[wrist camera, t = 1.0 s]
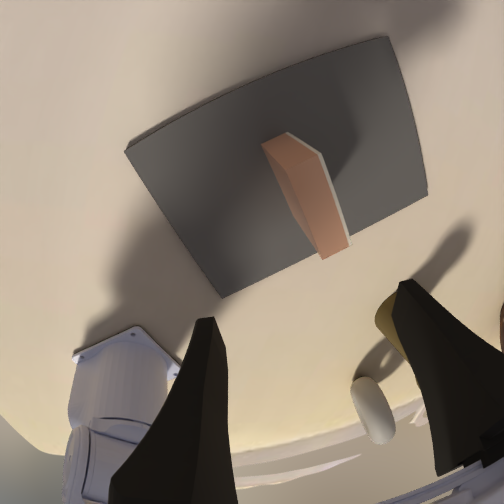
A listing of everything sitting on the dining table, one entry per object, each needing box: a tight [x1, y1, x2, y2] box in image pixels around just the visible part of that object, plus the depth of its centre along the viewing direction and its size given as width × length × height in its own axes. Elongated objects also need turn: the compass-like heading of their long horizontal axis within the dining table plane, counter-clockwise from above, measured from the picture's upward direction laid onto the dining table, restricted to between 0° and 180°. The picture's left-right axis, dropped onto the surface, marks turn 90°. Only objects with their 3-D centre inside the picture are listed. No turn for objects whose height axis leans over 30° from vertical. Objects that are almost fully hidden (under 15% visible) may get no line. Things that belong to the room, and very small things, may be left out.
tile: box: [261, 132, 352, 260], centre depth 19 cm, size 2×6×6 cm, turn 25°
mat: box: [124, 36, 428, 299], centre depth 22 cm, size 20×14×1 cm
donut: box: [350, 377, 396, 444], centre depth 35 cm, size 10×4×10 cm, turn 21°
